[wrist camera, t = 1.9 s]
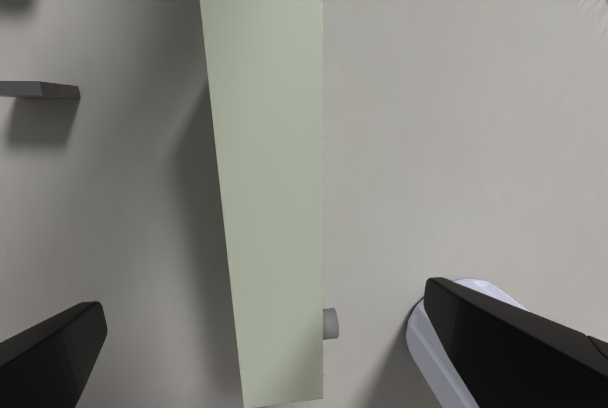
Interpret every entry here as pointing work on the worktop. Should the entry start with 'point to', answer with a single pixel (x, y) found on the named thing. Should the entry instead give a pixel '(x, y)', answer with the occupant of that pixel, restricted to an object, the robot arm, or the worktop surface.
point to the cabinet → (37, 90)
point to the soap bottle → (433, 356)
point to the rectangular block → (272, 188)
